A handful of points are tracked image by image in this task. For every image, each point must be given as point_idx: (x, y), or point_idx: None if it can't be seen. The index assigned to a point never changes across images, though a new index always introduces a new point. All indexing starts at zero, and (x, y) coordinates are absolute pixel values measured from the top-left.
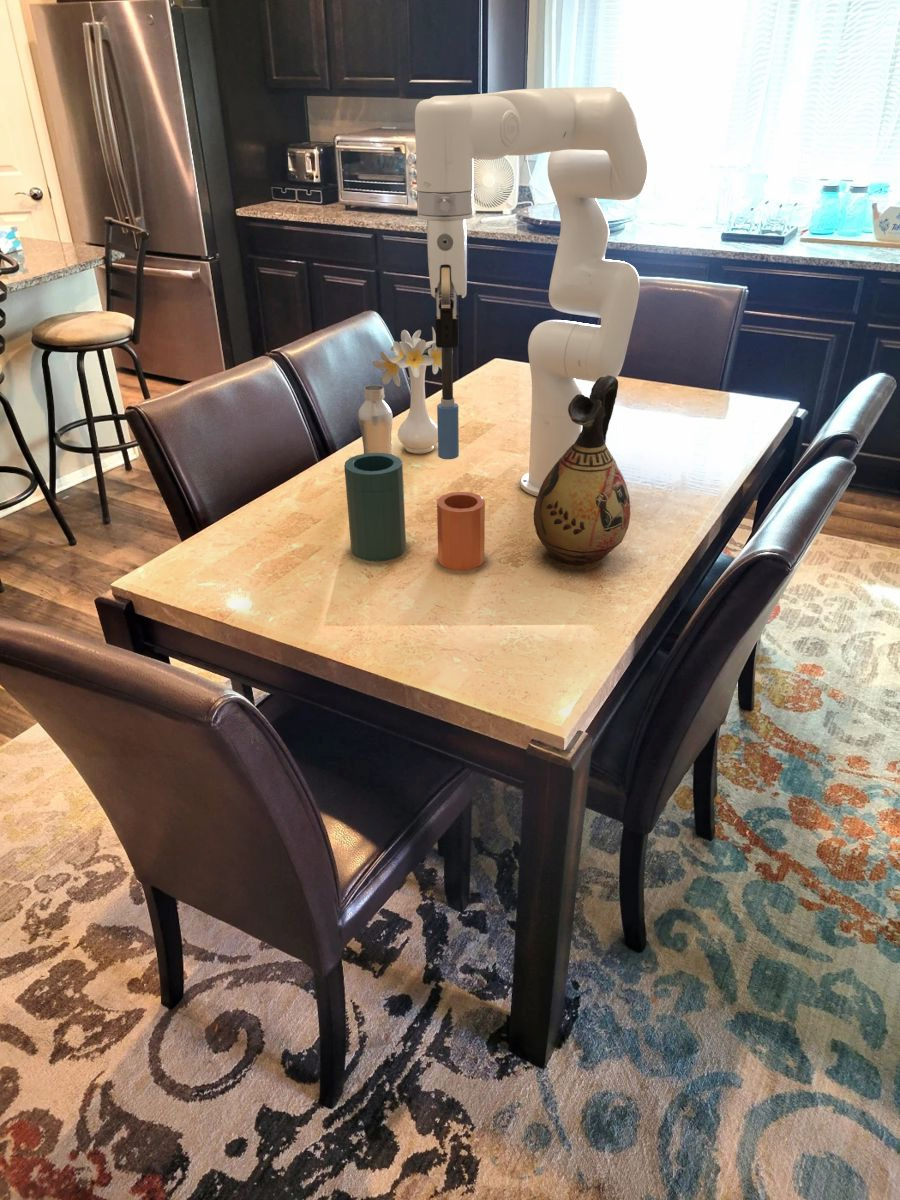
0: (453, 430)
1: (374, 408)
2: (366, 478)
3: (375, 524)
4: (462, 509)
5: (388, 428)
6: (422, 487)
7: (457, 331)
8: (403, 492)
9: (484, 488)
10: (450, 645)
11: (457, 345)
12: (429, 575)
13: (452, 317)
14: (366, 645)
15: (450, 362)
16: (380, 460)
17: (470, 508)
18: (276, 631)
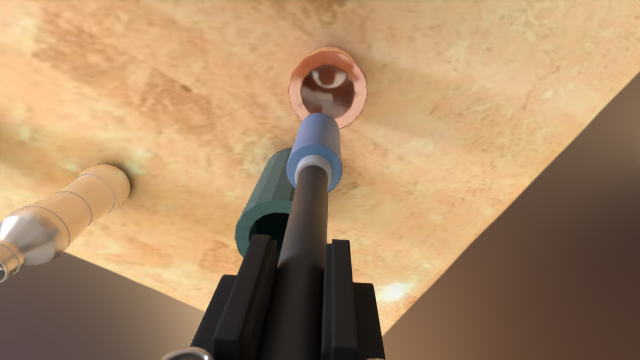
0: (337, 140)
1: (37, 247)
2: None
3: (327, 201)
4: (358, 91)
5: (56, 208)
6: (102, 125)
7: (352, 289)
8: (284, 178)
9: (85, 28)
10: (518, 100)
11: (349, 243)
12: (359, 120)
13: (253, 356)
14: (494, 184)
15: (322, 225)
16: (251, 227)
17: (355, 78)
18: (449, 259)
